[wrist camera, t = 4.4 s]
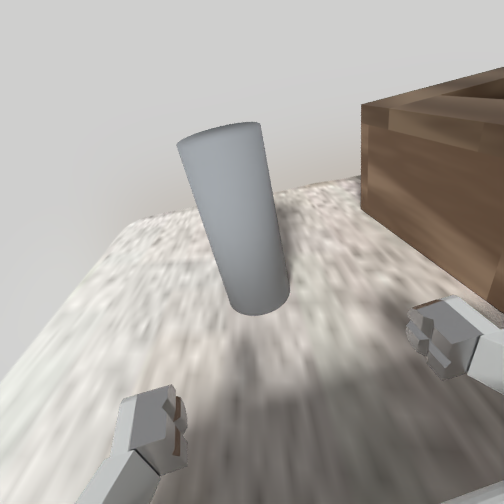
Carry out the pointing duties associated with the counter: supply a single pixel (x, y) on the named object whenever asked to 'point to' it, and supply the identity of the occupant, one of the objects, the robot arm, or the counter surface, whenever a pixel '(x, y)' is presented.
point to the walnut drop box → (442, 175)
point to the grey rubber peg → (238, 213)
